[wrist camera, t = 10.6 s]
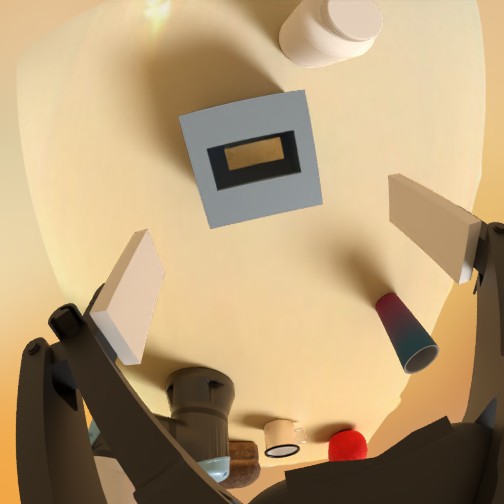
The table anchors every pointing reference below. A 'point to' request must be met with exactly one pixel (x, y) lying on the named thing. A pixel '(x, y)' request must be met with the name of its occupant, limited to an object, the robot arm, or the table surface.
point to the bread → (242, 465)
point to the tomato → (347, 446)
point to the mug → (281, 439)
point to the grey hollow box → (259, 175)
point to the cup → (406, 334)
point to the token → (253, 151)
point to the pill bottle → (329, 31)
